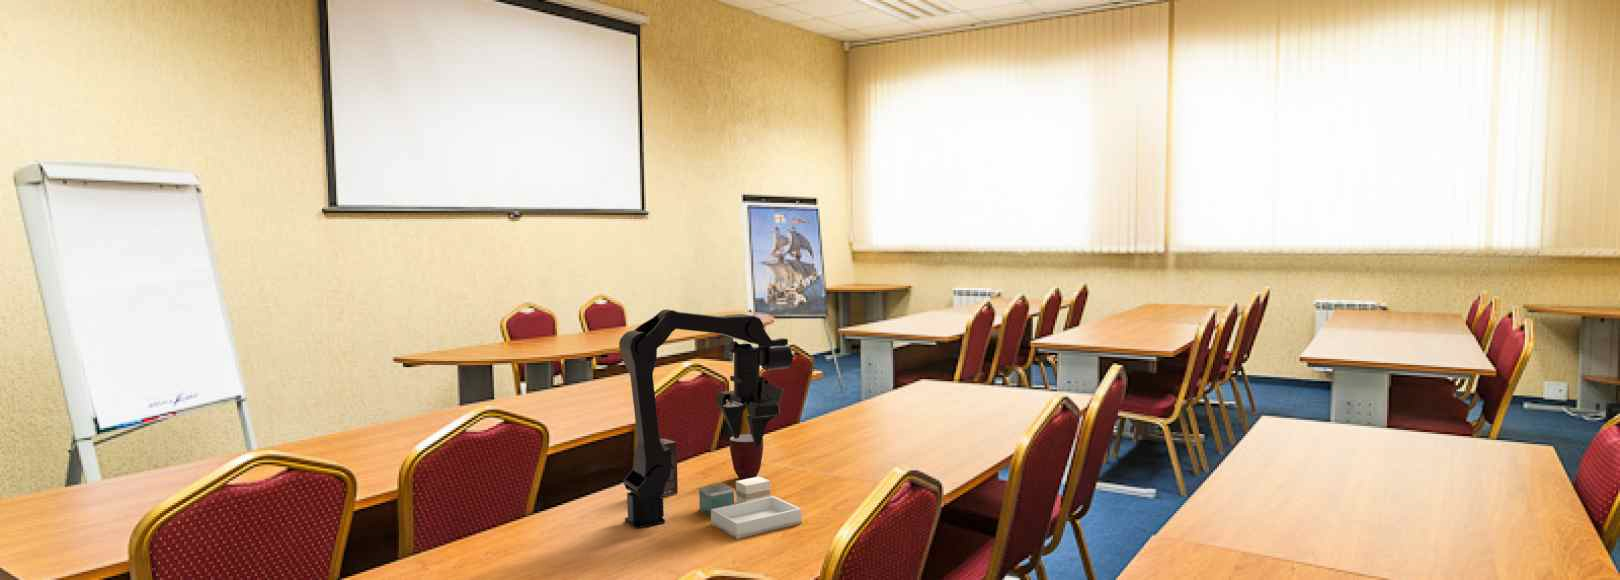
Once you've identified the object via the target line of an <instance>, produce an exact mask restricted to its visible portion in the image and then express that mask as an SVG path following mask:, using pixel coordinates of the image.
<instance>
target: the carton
mask: <svg viewBox="0 0 1620 580" xmlns="http://www.w3.org/2000/svg"><path fill="white" fill-rule="evenodd" d="M767 497H771V481H770V480H769V479H766V478H763V477H762V476H757V477H754V478H749V479H744V480H740V479H739V480H736V481H735V499H736V500H735V501H736V503H735V504H739V503H743V502H748V501H753V500H757V499H762V498H767Z"/></svg>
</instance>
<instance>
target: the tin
mask: <svg viewBox="0 0 1620 580" xmlns="http://www.w3.org/2000/svg"><path fill="white" fill-rule="evenodd" d="M698 491H699V493H698V496H699V501H698V502H699V510H700V511H701V512H703V513H704V514H707V515H708V516H709V517H711V509H715V508H720V507H725V506H729V505H734V504H735V493H736V488H734V487H732V486H729V485H727V484H725V483H724V482H719V483H715V484H710V485H704V486H700V487H698Z"/></svg>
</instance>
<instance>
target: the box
mask: <svg viewBox="0 0 1620 580" xmlns="http://www.w3.org/2000/svg"><path fill="white" fill-rule="evenodd" d="M660 442H661V444H662V445H663V446H665V447H667V448H669V449H671V453H672V456H671V461H672V465H673V467H674V469H672V468H671V476H670V478H669V479H668V481H667V482H666V483H665V487H664V490H663V493H662V495H661V497H667V496H668V497H669V496H671V495H675V494H678V493H679V490H678V489H679V487H678V486H679V485H678V442H677V441H674V440H671V439H668V438H665V437H664V438H663V437H662V438H660Z"/></svg>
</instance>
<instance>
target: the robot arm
mask: <svg viewBox="0 0 1620 580" xmlns="http://www.w3.org/2000/svg"><path fill="white" fill-rule="evenodd" d="M675 330H682V331H683V330H684V331H691V332H692V331H694V332H700V333H702V332H703V333H710V334H719V335H722V336H725V337H728V338H731V339H735V340H731V341H730V343H729V344H728V345H727V346H726V347H725V348H724V351H725V352H727V353H731V354H733V375H730V376H729V380H730V382H733V390H726V391H725V390H724V391H719V392H718V393H717V394H716V395H715V405H716V406H718V409H719V410H720V411H721V413H722V415H723V417H724V419H725V421H726V423H727V425H728V428H729V429H730V432H731V434H732V437H733V436H734V438H739V436H740V435H741V429H742V427H741V425H742V418H743V416H742V415H743V413H744V411H745V410H746V411H747V414H748V415H746V418H747V422H748V426H749V429H750V434H752V438H753V441H754V444H755V446H760V444H761V441H762V438H763V439H764V434H765V432H766V429H767V426H768V424H769V422H770V421H772V419H774V418H776V417H777V416H778V415H780V414H781V409H780V408H781V405H780V404H779V403H780V402H781V399H782V396H783V394H784V390H785V389H784V388H781V387H779V386H776V385H772V384H770V381H769V380H767V379H765V377H764V375H763V376H762V375H761V371H760V369H761V368H762V369H763V370H765V371H770V370H771V371H772V370H781V369H782V370H783V369H790V368H791V366H792V364H793V361H794V355H793V352H792V349H791V346H790V345H789V342H788V341H789V340H788V338H784V337H780V338H776V339H771V337H770V336H769V333H767V331H766V330H765V328H764V324H763V321H762V319H761V318H760V317H759V316H756V315H751V314H742V313H739V314H727V315H721V316H718V315H708V314H700V313H693V312H692V313H691V312H681V311H677V310H673V309H662V310H660V311H659V312H658V313H656V315H655V316H653V317H652V318H650V319H649V320H647V321H645V322H643V323H642V324H640V325H639V326H637V327H636V328H635V329H634V330H629V331H626V332H625V333H624V334H623V335H622V336H621V338H620V339H619V343H618V344H619V346H618V348H619V350H620V354H621V358H622V362H623V363H624V365H625V368H626V370H627V372H628V374H629V376H630V384H631V394H632V401H633V402H632V403H633V409H634V419H635V427H636V428H635V429H636V436H637V437H636V438H637V443H636V444H637V445H636V447H635V448H636V449H635V450H634V454H633V468H632V470H630V471H629V473H628V474H627V475H626V477H625V478H624V479H623V481H622V482H623V484H624V488H625V490H626V491H629V492H627V493H626V502H627V504H626V505H627V517H625V518H624V521H625V522H626V523H628V524H629V525H631V526H632V527H634V528H636V529H641V528H645V527H649V526H654V525H659V524H662V523H665V522H666V519H665V518H663V517H664V516H665V513H664V511H665V510H664V497H663V496H661V495H662V493H663V490H664V487H665V483H666V482H667V481H668V479H669V478H670V476H671V468H672V469H674V467H673V465H672V461H671V456H672V453H671V449H669V448H667V447H665V446H663V445H662V444H661V442H660V439H661V438H660V437H661V436H660V431H659V430H660V429H659V427H660V426H659V419H658V412H657V404H656V403H657V402H656V401H657V399H656V393H655V385H654V371H655V368H656V364H657V357H658V356H657V355H658V349H659V348H660V347H661V346H662V345H663V344H664V343H665V342H666V341H667V340H668V338H669V337H670V336H671V334H672V333H673V332H674V331H675ZM736 340H739V341H744V342H746V343H738V342H737V341H736ZM752 344H753V345H758V346H753V345H752ZM760 367H761V368H760Z"/></svg>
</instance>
